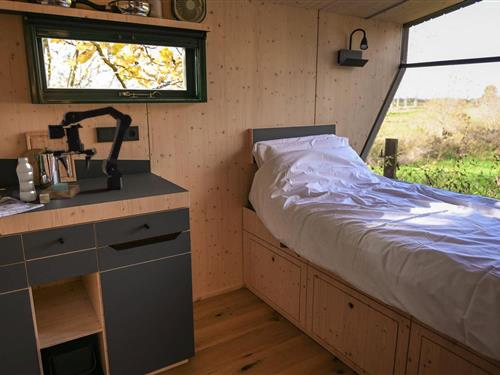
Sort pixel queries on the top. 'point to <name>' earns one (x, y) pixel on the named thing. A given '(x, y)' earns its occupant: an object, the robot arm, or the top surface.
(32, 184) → the plastic bottle
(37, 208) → the top surface
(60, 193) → the serving box
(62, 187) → the teal block
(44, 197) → the birch cube
